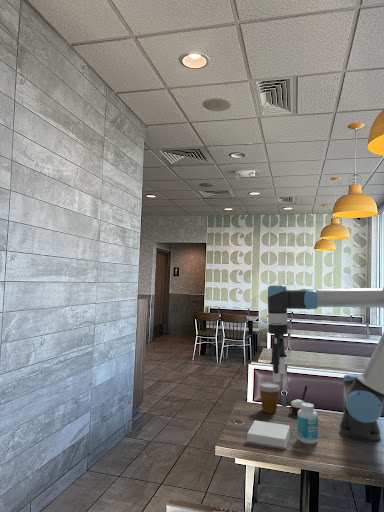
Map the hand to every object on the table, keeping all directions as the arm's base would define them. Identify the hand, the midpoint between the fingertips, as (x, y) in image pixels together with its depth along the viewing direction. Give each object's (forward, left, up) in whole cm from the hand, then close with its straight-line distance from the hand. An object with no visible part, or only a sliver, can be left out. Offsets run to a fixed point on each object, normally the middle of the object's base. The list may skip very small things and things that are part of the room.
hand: (279, 377), depth 150 cm
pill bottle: (-11, +1, -23) cm, 25 cm away
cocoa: (-5, -28, -23) cm, 37 cm away
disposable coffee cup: (+8, -26, -23) cm, 36 cm away
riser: (+3, +5, -23) cm, 23 cm away
